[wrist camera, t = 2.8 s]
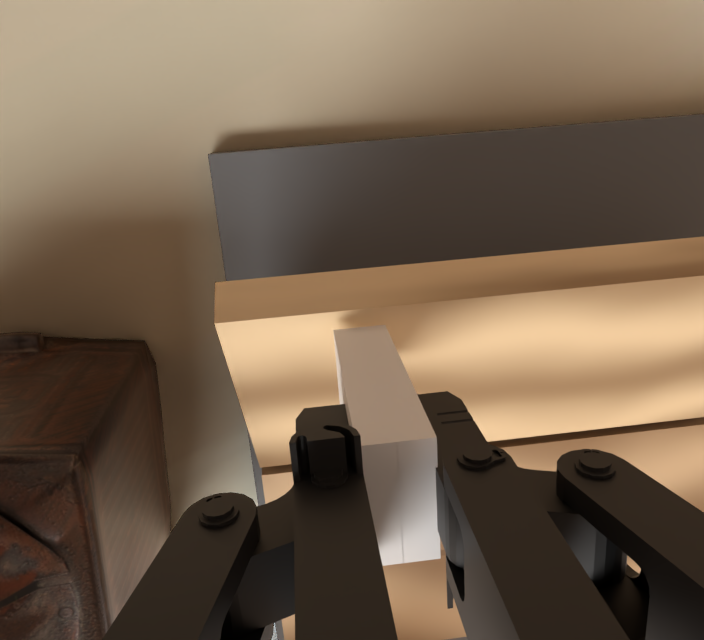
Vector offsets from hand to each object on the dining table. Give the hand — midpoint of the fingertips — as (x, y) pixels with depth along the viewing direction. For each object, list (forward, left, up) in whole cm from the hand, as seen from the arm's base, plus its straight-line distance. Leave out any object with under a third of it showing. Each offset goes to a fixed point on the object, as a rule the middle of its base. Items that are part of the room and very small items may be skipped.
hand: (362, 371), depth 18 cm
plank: (+1, +6, -4) cm, 7 cm away
